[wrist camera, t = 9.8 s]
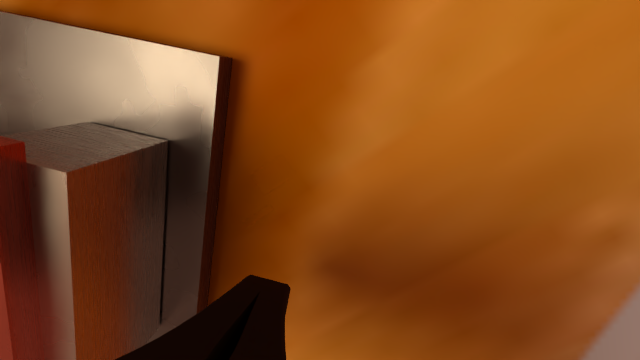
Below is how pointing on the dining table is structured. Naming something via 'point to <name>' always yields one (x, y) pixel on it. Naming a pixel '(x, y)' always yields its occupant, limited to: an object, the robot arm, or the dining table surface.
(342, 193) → the dining table surface
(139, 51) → the press
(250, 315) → the robot arm
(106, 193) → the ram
